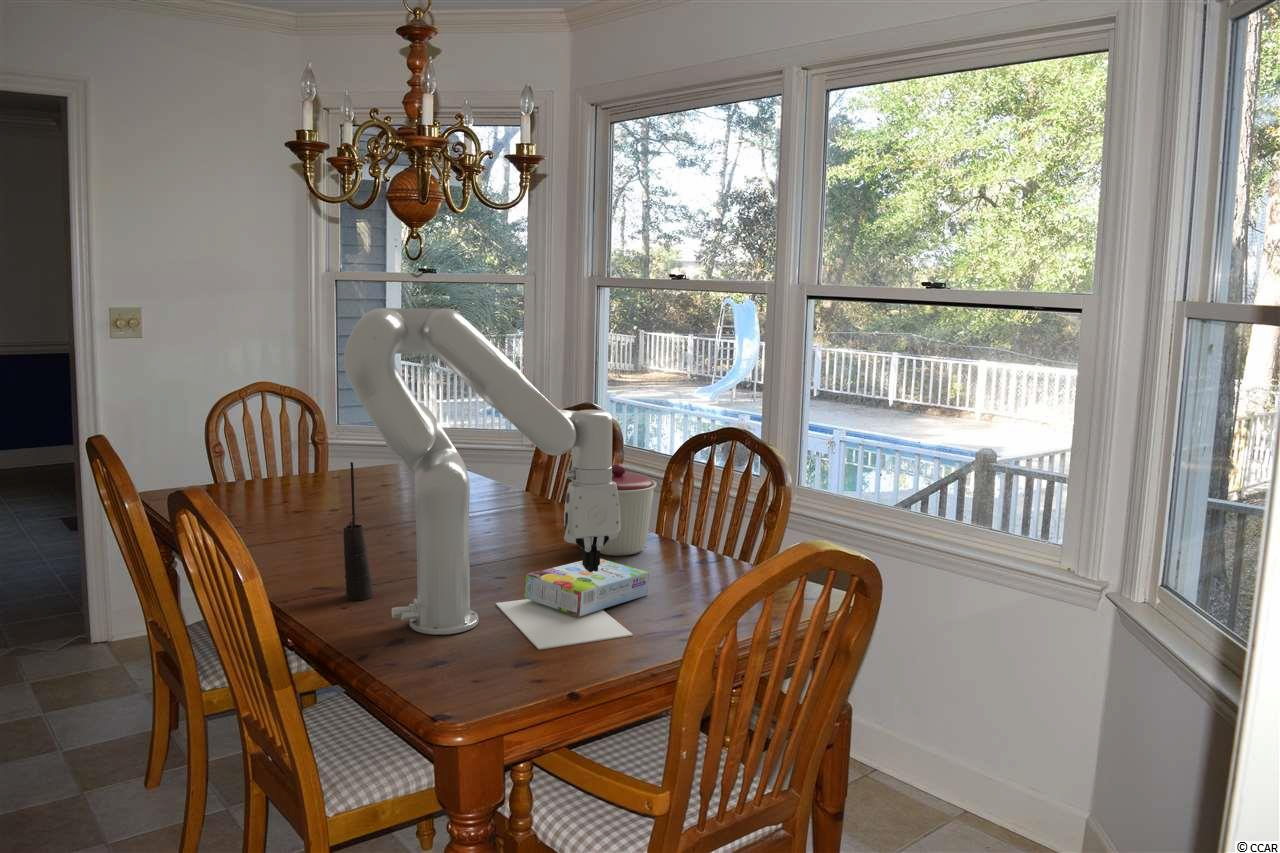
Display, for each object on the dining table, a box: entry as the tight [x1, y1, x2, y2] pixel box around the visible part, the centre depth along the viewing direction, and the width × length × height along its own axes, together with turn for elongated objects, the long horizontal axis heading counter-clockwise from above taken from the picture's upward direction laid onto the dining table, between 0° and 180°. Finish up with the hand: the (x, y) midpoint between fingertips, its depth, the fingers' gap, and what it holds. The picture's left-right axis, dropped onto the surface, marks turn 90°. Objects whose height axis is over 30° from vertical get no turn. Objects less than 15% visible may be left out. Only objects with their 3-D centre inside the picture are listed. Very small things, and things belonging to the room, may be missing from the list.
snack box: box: [523, 558, 650, 617], centre depth 200 cm, size 21×6×15 cm
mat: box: [495, 598, 634, 651], centre depth 189 cm, size 18×26×1 cm
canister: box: [590, 462, 657, 557], centre depth 235 cm, size 18×18×21 cm
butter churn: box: [343, 461, 374, 602], centre depth 199 cm, size 9×10×28 cm
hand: (591, 569), depth 190 cm, fingers closed
